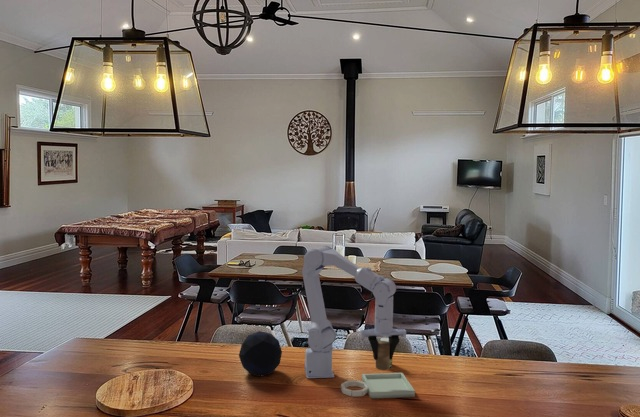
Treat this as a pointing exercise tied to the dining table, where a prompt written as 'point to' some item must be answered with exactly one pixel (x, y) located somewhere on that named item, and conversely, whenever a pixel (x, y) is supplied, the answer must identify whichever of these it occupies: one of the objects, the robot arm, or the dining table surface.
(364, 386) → the holder ring
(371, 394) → the tray
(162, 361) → the dining table surface
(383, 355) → the walnut canister
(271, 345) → the decorative orb
